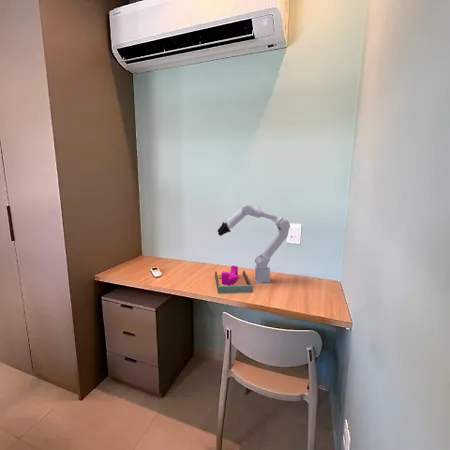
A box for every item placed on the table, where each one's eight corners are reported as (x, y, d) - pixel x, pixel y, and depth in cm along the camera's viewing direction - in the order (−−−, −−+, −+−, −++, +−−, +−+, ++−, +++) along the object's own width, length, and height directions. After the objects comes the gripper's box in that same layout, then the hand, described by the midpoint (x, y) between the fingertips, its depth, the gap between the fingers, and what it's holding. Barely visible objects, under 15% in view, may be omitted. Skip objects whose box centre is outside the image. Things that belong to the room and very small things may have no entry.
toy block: (230, 285, 168) (230, 274, 166) (221, 283, 171) (221, 272, 170) (240, 277, 181) (241, 266, 179) (232, 275, 184) (232, 265, 182)
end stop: (252, 291, 161) (252, 284, 160) (252, 292, 160) (252, 285, 159) (217, 292, 159) (218, 285, 158) (218, 293, 158) (218, 286, 157)
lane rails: (244, 274, 187) (244, 270, 186) (252, 291, 161) (252, 286, 160) (214, 275, 185) (214, 271, 184) (217, 292, 159) (218, 287, 158)
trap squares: (241, 274, 187) (241, 274, 187) (242, 278, 181) (242, 277, 181) (218, 275, 185) (218, 275, 185) (218, 278, 179) (218, 278, 179)
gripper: (229, 212, 174) (213, 226, 175) (232, 216, 160) (215, 231, 160) (236, 220, 175) (221, 234, 176) (240, 224, 161) (222, 239, 162)
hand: (218, 233), depth 168 cm, fingers open, 7 cm apart
